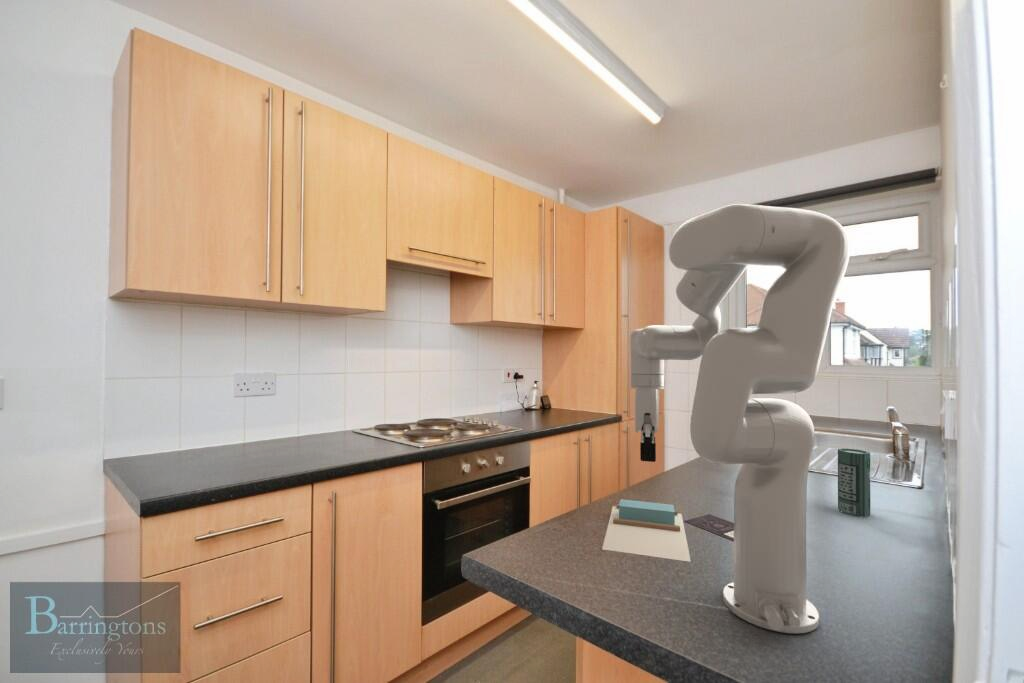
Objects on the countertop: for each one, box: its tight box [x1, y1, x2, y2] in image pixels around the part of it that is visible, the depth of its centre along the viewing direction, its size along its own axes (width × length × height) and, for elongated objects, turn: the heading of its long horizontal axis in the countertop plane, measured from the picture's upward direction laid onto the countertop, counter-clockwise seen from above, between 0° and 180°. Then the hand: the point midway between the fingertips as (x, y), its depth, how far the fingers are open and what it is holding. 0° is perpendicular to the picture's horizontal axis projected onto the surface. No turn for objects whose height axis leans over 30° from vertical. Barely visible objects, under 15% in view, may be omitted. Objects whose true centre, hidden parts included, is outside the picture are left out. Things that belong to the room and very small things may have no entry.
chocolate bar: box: [683, 513, 734, 542], centre depth 97 cm, size 9×1×18 cm
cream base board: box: [601, 503, 692, 563], centre depth 97 cm, size 26×16×1 cm, turn 163°
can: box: [837, 448, 871, 518], centre depth 112 cm, size 6×6×15 cm
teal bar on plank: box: [618, 499, 675, 525], centre depth 104 cm, size 12×5×3 cm, turn 73°
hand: (648, 457), depth 103 cm, fingers open, 9 cm apart
